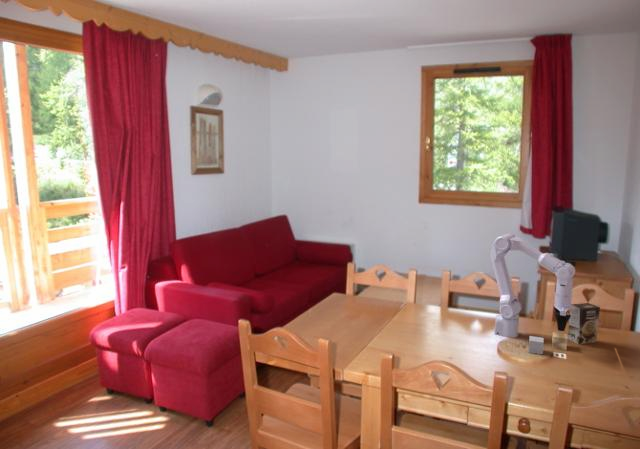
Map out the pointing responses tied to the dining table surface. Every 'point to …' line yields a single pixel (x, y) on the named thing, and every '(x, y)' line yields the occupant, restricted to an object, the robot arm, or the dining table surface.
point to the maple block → (559, 341)
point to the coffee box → (583, 323)
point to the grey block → (536, 345)
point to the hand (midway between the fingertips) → (560, 327)
